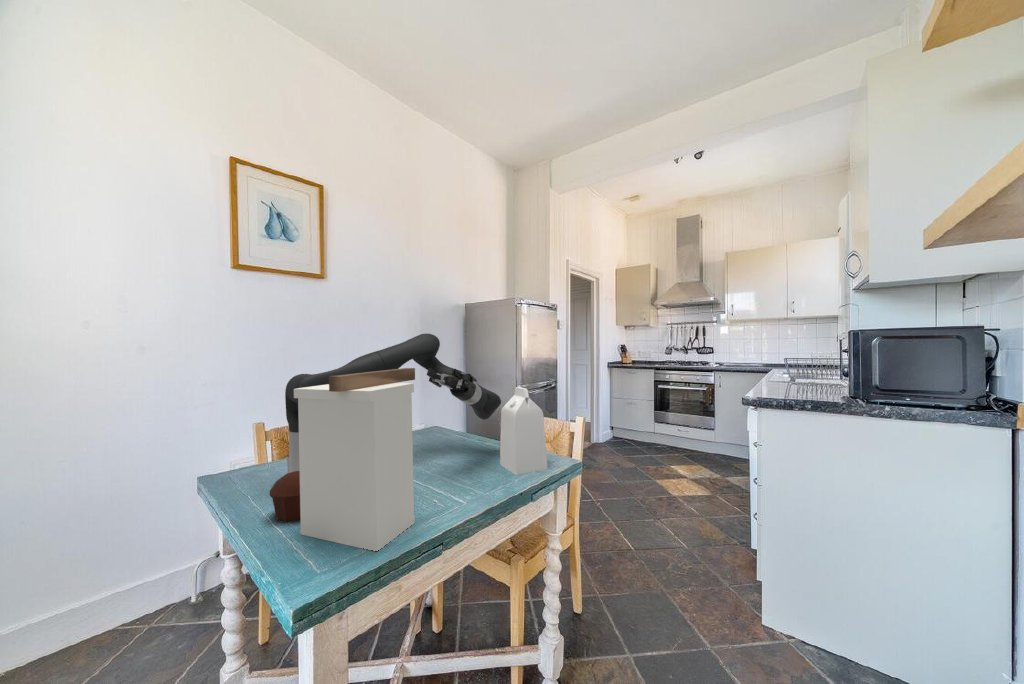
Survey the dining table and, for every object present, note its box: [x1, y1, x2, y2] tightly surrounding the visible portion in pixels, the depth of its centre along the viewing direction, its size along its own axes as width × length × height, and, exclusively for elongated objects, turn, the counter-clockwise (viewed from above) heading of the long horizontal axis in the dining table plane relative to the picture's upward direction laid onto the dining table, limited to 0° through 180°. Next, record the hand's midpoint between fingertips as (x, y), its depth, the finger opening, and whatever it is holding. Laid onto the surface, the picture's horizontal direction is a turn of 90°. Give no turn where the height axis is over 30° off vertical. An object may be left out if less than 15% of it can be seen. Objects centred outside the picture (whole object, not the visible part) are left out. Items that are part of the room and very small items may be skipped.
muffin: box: [269, 471, 301, 523], centre depth 89 cm, size 12×11×10 cm
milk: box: [499, 386, 549, 476], centre depth 120 cm, size 12×12×26 cm
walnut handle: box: [329, 367, 416, 392], centre depth 83 cm, size 3×24×3 cm, turn 159°
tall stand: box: [294, 382, 415, 552], centre depth 81 cm, size 21×14×32 cm, turn 69°
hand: (440, 371), depth 106 cm, fingers open, 8 cm apart
